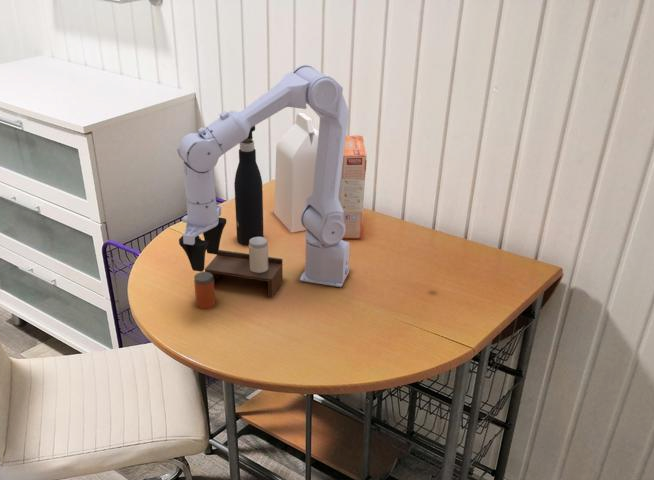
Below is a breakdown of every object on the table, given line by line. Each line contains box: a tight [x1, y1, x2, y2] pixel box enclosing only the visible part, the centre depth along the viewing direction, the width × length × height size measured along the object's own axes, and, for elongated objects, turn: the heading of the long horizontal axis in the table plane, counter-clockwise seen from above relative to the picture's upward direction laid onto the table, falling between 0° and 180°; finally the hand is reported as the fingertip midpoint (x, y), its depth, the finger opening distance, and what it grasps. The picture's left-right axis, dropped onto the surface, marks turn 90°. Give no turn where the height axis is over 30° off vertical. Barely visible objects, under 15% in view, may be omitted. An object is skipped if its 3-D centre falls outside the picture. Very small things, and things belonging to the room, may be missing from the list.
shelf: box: [204, 249, 284, 299], centre depth 159 cm, size 15×8×6 cm, turn 73°
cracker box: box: [338, 135, 368, 239], centre depth 178 cm, size 14×6×21 cm, turn 179°
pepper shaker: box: [193, 271, 216, 310], centre depth 152 cm, size 4×4×6 cm
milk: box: [273, 112, 319, 233], centre depth 180 cm, size 12×12×26 cm
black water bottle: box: [233, 125, 265, 247], centre depth 169 cm, size 6×6×30 cm
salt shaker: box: [248, 237, 269, 273], centre depth 155 cm, size 4×4×6 cm
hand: (205, 261), depth 149 cm, fingers open, 7 cm apart
